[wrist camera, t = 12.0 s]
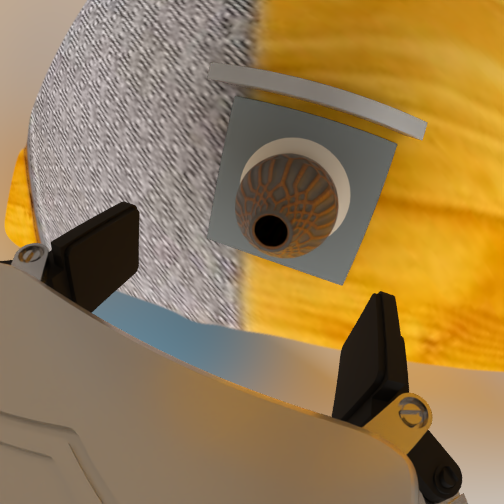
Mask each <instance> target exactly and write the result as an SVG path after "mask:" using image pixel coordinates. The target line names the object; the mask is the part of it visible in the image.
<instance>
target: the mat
mask: <svg viewBox="0 0 504 504" xmlns="http://www.w3.org/2000/svg"><path fill="white" fill-rule="evenodd" d="M396 147H397V144H396V143H393V142H391V141H388V140H386V139H383V138H381V137H378V136H376V135H373V134H370V133H367V132H365V131H362V130H359V129H356V128H353V127H351V126H348V125H345V124H342V123H339V122H335V121H332V120H329V119H326V118H323V117H319V116H316V115H313V114H309V113H305V112H302V111H298V110H294V109H291V108H287V107H283V106H279V105H275V104H270V103H266V102H262V101H257V100H252V99H248V98H243V97H237V96H235V97H234V102H233V106H232V111H231V115H230V120H229V125H228V129H227V134H226V139H225V144H224V148H223V153H222V158H221V163H220V168H219V174H218V179H217V184H216V189H215V195H214V200H213V206H212V211H211V217H210V223H209V228H208V234H207V239H210V240H212V241H215V242H218V243H221V244H224V245H227V246H230V247H233V248H235V249H238V250H241V251H244V252H247V253H250V254H253V255H256V256H258V257H261V258H264V259H267V260H270V261H273V262H276V263H279V264H281V265H284V266H287V267H290V268H293V269H296V270H299V271H302V272H304V273H307V274H310V275H313V276H316V277H319V278H322V279H325V280H328V281H330V282H333V283H336V284H339V285H343V283H344V281H345V279H346V276H347V274H348V272H349V270H350V267H351V265H352V263H353V261H354V258H355V256H356V254H357V251H358V249H359V247H360V244H361V242H362V239H363V237H364V235H365V232H366V230H367V227H368V225H369V222H370V220H371V217H372V215H373V212H374V209H375V207H376V204H377V201H378V199H379V196H380V193H381V191H382V188H383V185H384V182H385V179H386V177H387V174H388V171H389V168H390V165H391V162H392V159H393V156H394V153H395V150H396ZM284 153H293V154H299V155H303V156H306V157H308V158H311V159H312V160H314V161H316V162H317V163H319V164H320V165H321V166H322V167H323V168H324V169H325V170H326V171H327V172H328V174H329V175H330V176H331V178H332V180H333V182H334V184H335V187H336V190H337V194H338V202H339V209H338V216H337V220H336V223H335V226H334V228H333V230H332V232H331V233H330V235H329V236H328V238H327V239H326V240H325V241H324V242H323V243H322V244H321V245H320V246H319V247H317V248H316V249H314V250H313V251H311V252H309V253H307V254H305V255H303V256H299V257H295V258H277V257H272V256H269V255H267V254H264V253H262V252H260V251H259V250H257V249H256V248H255V247H253V246H252V245H251V244H250V243H249V242H248V241H247V240H246V238H245V237H244V236H243V234H242V232H241V230H240V228H239V226H238V223H237V220H236V215H235V200H236V195H237V191H238V188H239V185H240V183H241V181H242V179H243V178H244V176H245V175H246V174H247V172H248V171H249V170H250V169H251V168H252V167H253V166H254V165H256V164H257V163H258V162H260V161H262V160H263V159H266V158H268V157H270V156H273V155H277V154H284Z"/></svg>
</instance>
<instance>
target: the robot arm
mask: <svg viewBox="0 0 504 504" xmlns="http://www.w3.org/2000/svg"><path fill="white" fill-rule="evenodd" d="M51 247H52V251H50V252H49V251H48V248H47V247H46V246H45V245H43V244H40V243H33V244H28V245H25V246H24V247H22V248H20V249H19V250H18V251H17V252H16V254H15V256H14V258H13V260H9V261H0V504H468V503H467V500H466V498H465V495H464V493H463V494H461V495H460V494H459V489H460V488H461V484H462V474H461V470H460V468H459V466H458V465H457V464H456V462H455V461H454V460H453V459H452V458H451V457H450V455H449V454H448V453H447V452H446V451H445V449H444V448H443V447H442V446H441V444H440V443H439V442H438V441H437V440H436V438H435V437H434V436H433V435H432V434H431V433H430V431H429V430H428V429H429V427H430V426H431V424H432V412H431V409H430V407H429V405H428V404H427V402H426V401H425V400H424V399H423V398H421V397H420V396H418V395H416V394H414V393H409V385H408V384H409V383H408V371H407V361H406V352H405V343H404V339H403V337H402V336H401V334H400V326H399V319H398V312H397V306H396V299H395V296H393V295H390V294H387V293H385V292H382V291H380V292H379V293H378V294H375V293H374V294H373V295H372V296H371V298H370V300H369V302H368V303H367V305H366V307H365V309H364V311H363V312H362V314H361V316H360V318H359V319H358V321H357V323H356V325H355V326H354V328H353V330H352V331H351V333H350V335H349V336H348V338H347V340H346V341H345V343H344V345H343V347H342V350H341V356H340V363H339V372H338V379H337V387H336V393H335V400H334V406H333V412H332V417H330V416H327V415H323V414H320V413H317V412H314V411H311V410H307V409H304V408H301V407H298V406H295V405H292V404H289V403H286V402H284V401H281V400H278V399H275V398H272V397H269V396H267V395H264V394H261V393H258V392H255V391H253V390H250V389H248V388H245V387H242V386H240V385H237V384H235V383H232V382H229V381H227V380H225V379H222V378H220V377H217V376H215V375H213V374H210V373H208V372H206V371H203V370H201V369H199V368H197V367H195V366H192V365H190V364H188V363H186V362H183V361H181V360H179V359H177V358H175V357H173V356H171V355H169V354H167V353H164V352H162V351H160V350H158V349H156V348H154V347H152V346H150V345H148V344H147V343H144V342H143V341H140V340H139V339H137V338H135V337H133V336H131V335H129V334H127V333H126V332H124V331H122V330H120V329H118V328H117V327H115V326H113V325H111V324H109V323H108V322H106V321H104V320H102V319H101V318H99V317H97V316H96V315H94V314H92V312H93V311H94V310H95V309H96V308H97V307H98V306H99V305H100V304H101V303H102V302H103V301H104V300H106V299H107V298H108V297H109V296H110V295H111V294H112V293H113V292H115V291H116V290H117V289H118V288H119V287H120V286H121V285H123V284H124V283H125V282H126V281H127V280H128V279H129V278H130V277H132V276H133V275H134V274H135V273H136V272H137V270H138V266H139V211H138V210H137V207H136V206H135V205H133V204H130V203H127V202H121V203H119V204H117V205H115V206H113V207H111V208H109V209H108V210H106V211H104V212H102V213H100V214H98V215H96V216H95V217H93V218H91V219H89V220H88V221H86V222H84V223H82V224H80V225H79V226H77V227H75V228H74V229H72V230H70V231H68V232H67V233H65V234H63V235H62V236H60V237H58V238H57V239H55V240H54V241H52V242H51Z"/></svg>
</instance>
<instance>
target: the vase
mask: <svg viewBox="0 0 504 504" xmlns="http://www.w3.org/2000/svg"><path fill="white" fill-rule="evenodd" d="M338 209H339V202H338V194H337V190H336V187H335V184H334V182H333V180H332V178H331V176H330V175H329V174H328V172H327V171H326V170H325V169H324V168H323V167H322V166H321V165H320V164H319V163H317V162H316V161H314V160H312V159H311V158H308V157H306V156H303V155H299V154H293V153H284V154H277V155H273V156H270V157H268V158H266V159H263V160H262V161H260V162H258V163H257V164H256V165H254V166H253V167H252V168H251V169H250V170H249V171H248V172H247V174H246V175H245V176H244V178H243V179H242V181H241V183H240V185H239V188H238V191H237V195H236V200H235V215H236V220H237V223H238V226H239V228H240V230H241V232H242V234H243V236H244V237H245V238H246V240H247V241H248V242H249V243H250V244H251V245H252V246H253V247H255V248H256V249H257V250H259V251H260V252H262V253H264V254H267V255H269V256H272V257H277V258H295V257H299V256H303V255H305V254H307V253H309V252H311V251H313V250H314V249H316V248H317V247H319V246H320V245H321V244H322V243H323V242H324V241H325V240H326V239H327V238H328V236H329V235H330V233H331V232H332V230H333V228H334V226H335V223H336V220H337V216H338Z"/></svg>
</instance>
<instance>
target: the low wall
mask: <svg viewBox="0 0 504 504" xmlns="http://www.w3.org/2000/svg"><path fill="white" fill-rule="evenodd" d="M207 79H210V80H215V81H219V82H223V83H227V84H231V85H236V86H242V87H247V88H252V89H257V90H262V91H267V92H271V93H276V94H280V95H284V96H288V97H292V98H296V99H300V100H304V101H307V102H311V103H315V104H318V105H322V106H325V107H328V108H331V109H335V110H338V111H341V112H344V113H347V114H350V115H353V116H356V117H359V118H362V119H365V120H367V121H370V122H373V123H375V124H378V125H381V126H383V127H386V128H388V129H391V130H393V131H396V132H398V133H401V134H403V135H405V136H409V137H412V138H416V139H419V140H423V136H424V133H425V130H426V126H427V122H425V121H423V120H421V119H418V118H416V117H414V116H412V115H409V114H407V113H405V112H402V111H400V110H397V109H395V108H392V107H390V106H387V105H385V104H382V103H380V102H377V101H374V100H371V99H369V98H366V97H363V96H360V95H357V94H354V93H351V92H348V91H345V90H342V89H338V88H335V87H332V86H328V85H325V84H321V83H318V82H314V81H310V80H306V79H302V78H298V77H294V76H290V75H285V74H281V73H276V72H271V71H266V70H261V69H255V68H249V67H243V66H237V65H230V64H222V63H214V62H211V63H210V67H209V72H208V76H207Z"/></svg>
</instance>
